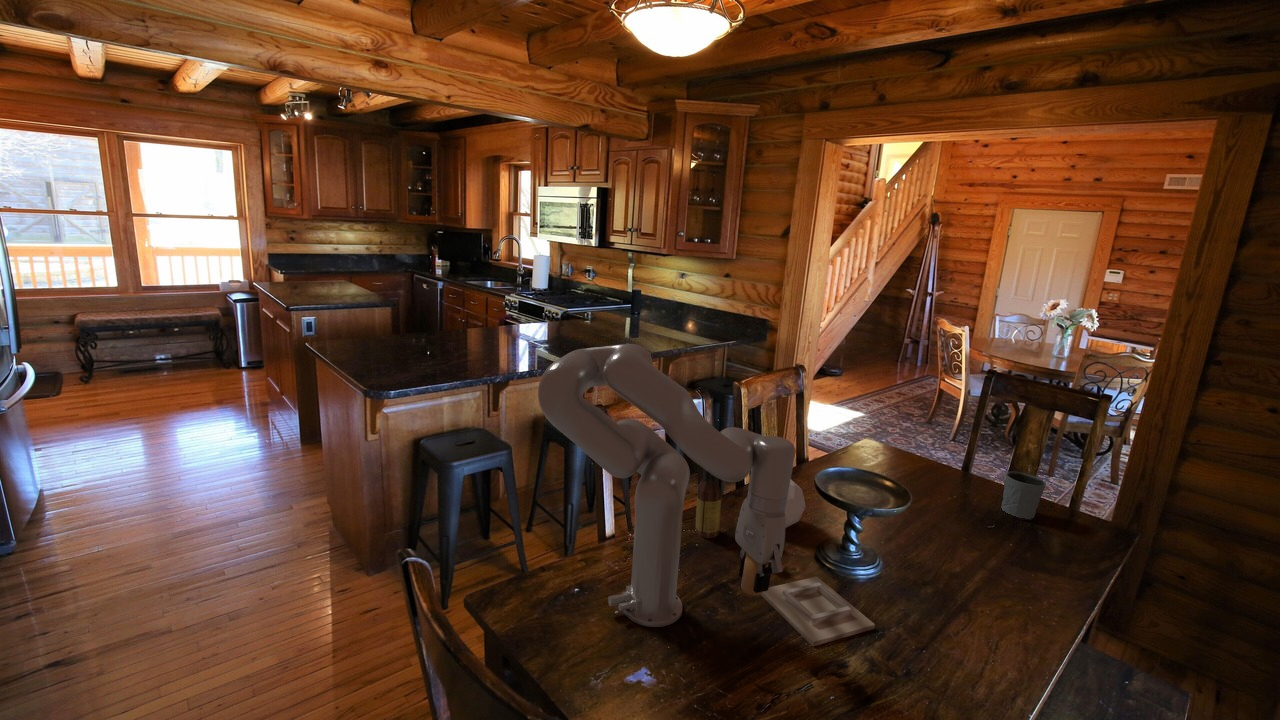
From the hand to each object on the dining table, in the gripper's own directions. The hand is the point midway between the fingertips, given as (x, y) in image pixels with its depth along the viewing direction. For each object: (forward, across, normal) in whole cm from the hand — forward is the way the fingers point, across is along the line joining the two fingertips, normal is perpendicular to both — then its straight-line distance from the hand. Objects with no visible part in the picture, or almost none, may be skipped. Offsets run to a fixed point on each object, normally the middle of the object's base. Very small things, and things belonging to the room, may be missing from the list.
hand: (753, 582), depth 118 cm
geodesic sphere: (+10, -34, +32) cm, 47 cm away
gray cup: (+7, -16, +109) cm, 110 cm away
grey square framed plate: (+9, +1, +17) cm, 19 cm away
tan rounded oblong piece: (+1, 0, 0) cm, 1 cm away
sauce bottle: (+11, -35, +11) cm, 38 cm away
